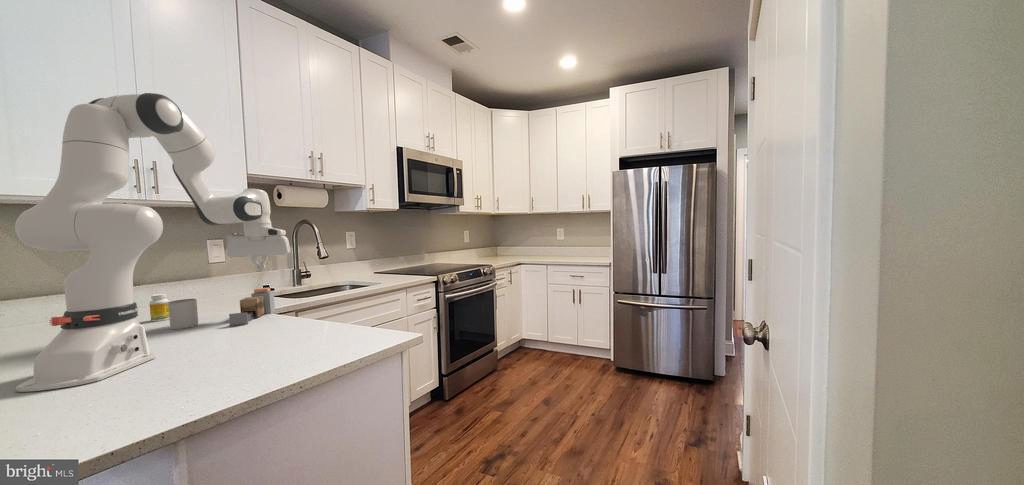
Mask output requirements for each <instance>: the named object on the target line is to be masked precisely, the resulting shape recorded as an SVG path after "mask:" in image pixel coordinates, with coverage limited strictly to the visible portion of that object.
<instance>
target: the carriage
mask: <svg viewBox="0 0 1024 485" xmlns="http://www.w3.org/2000/svg"><path fill="white" fill-rule="evenodd" d="M239 309H240V313H244V312H246V311H254V310H255V312H256V318H260V317H262V316H263V315H265V314H264V300H263V296H258V297H251V296H248V297H244V298H242V299H239ZM262 314H263V315H262Z"/></svg>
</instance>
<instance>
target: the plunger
mask: <svg viewBox="0 0 1024 485" xmlns="http://www.w3.org/2000/svg"><path fill="white" fill-rule="evenodd" d="M268 291H271V287H258V288H257V287H256V288H255V289H254V290H253V293H258V292H260V293H265V292H268Z"/></svg>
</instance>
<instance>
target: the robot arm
mask: <svg viewBox="0 0 1024 485" xmlns="http://www.w3.org/2000/svg"><path fill="white" fill-rule="evenodd" d="M64 124H65V125H64V129H63V132H62V133H63V134H62V140H61V141H62V143H61V157H60V165H59V172H58V176H57V179H56V180H55V183H54V185H53V187H52V188H51V189H50V191H49V192H48V193H47V194H46V196H45V197H44V198H43V199H42V200H40V201H39V202H38V203H37V204H35V205H34V206H32V207H31V208H29V209H26V210H24V211H23V212H21V213H20V215H19V216H18V217H17V219H16V221H15V225H14V231H15V234H16V236H17V238H18V239H19V241H21V243H22V244H24V245H25V246H27V247H29V248H32V249H36V250H42V251H52V252H53V251H54V252H73V251H74V252H77V251H79V252H80V251H90V253H89V257H88V258H87V259H88V260H87V261H86V262H85V264H84V265H82V266H80V267H78V268H76V269H74V270H73V271H71V272H70V273H68V274H67V275H66V276H65V278H64V281H63V289H64V298H65V299H64V300H65V306H66V310H65V311H64V313H63V316H52V317H50V319H49V325H50V326H51V327H57V326H60V329H61V330H60V331H59V333H57V335H56V336H55V337H54V338H53V339H52V340H51V341H50V342H49V343H48V344H47V345H46V346H45V348H43V349H42V350H41V351H40V352H39V354H37V356H36V357H35V359H34V361H33V377H32V378H30V379H28V380H25V381H24V382H22V383H20V384H17V386H15V392H20V393H23V392H24V393H25V392H40V391H47V390H55V389H56V390H57V389H62V388H69V387H70V388H71V387H75V386H79V385H86V384H90V383H94V382H98V381H102V380H104V379H106V378H109V377H112V376H114V375H117V374H119V373H122V372H123V371H126V370H129V369H131V368H134V367H136V366H139V365H142V364H144V363H146V362H149V361H151V360H153V359H156V354H155V353H153V352H150V348H149V344H148V339H147V334H146V329H145V327H144V326H143V325H142V324H141V323H140V322H139V321H138V319H137V317H138V316H139V311H138V310H139V308H138V305H137V302H135V299H134V297H135V296H134V272H135V267H136V265H137V262H138V260H139V258H140V257H141V256H142V254H143V253H144V252H145V251H146V250H147V249H148V247H151V246H152V245H153V244H155V243H156V242H157V241H158V240H159V239H160V238H161V236H162V234H163V230H164V221H163V220H162V217H161V216H160V214H159V213H158V212H157V211H156V210H155V209H153V208H152V207H150V206H146V205H140V204H139V205H137V204H134V203H133V204H132V203H131V204H130V203H104V202H105V200H106V199H107V198H108V196H110V195H111V194H113V193H114V192H117V191H119V190H121V189H123V188H124V187H125V186H126V185H127V184H128V182H129V176H130V175H129V168H130V142H129V139H133V138H139V139H140V138H142V139H144V138H151V137H154V138H155V139H156V140H157V141H158V143H159V144H160V146H161V147H162V148H163V150H164V151H165V152H166V153H167V155H168V156H169V157H170V159H171V161H172V165H171V166H172V171H173V173H174V175H175V177H176V179H177V180H178V182H179V183H180V185H181V186H182V188H183V190H184V191H185V192H186V194H187V196H188V197H189V198H190V200H191V202H192V204H193V205H194V207H195V210H196V212H197V215H198V216H199V218H200V219H201V221H202V222H204V223H205V224H206V225H209V226H220V225H226V224H238V223H241V224H242V223H243V232H231V233H230V234H228V235H227V236H226V243H227V248H226V250H227V251H226V256H228V258H248V257H250V259H251V261H252V263H253V264H254V268H255V269H266V264H267V261H268V260H269V257H270V256H283V255H285V256H286V255H289V254H290V253H291V246H290V241H289V238H288V237H287V236H286V234H287V231H286V230H285V229H281V228H278V227H273V225H272V220H271V203H270V198H269V195H268V193H267V192H266V191H265V190H263V189H261V188H251V187H249V188H244V189H243V191H242V192H240V193H238V194H235V195H230V196H217V195H214V194H213V193H212V192H211V191H210V190H209V188H208V185H207V184H206V183H205V180H204V179H203V178H202V176H201V173H202V172H203V171H205V170H206V169H208V168H209V167H210V166H211V165H212V164H213V162H214V160H215V157H216V152H215V148H214V147H213V145H212V143H211V142H210V141H209V139H208V138H207V136H205V134H204V133H203V132H202V130H201V129H200V128H199V127H198V125H197V124H196V123H195V122H194V121H193V120H192V119H191V118H190V117H189V116H188V115H187V114H186V113H185V112H184V111H182V110H181V108H180V107H179V106H178V105H177V103H176V102H174V101H173V100H172V99H171V98H170V97H168V96H166V95H165V94H160V93H154V92H144V93H141V94H140V93H138V94H137V93H134V94H118V95H112V96H108V97H103V98H102V97H100V98H97V99H93V100H91V101H90V102H88V103H81V104H78V105H75V106H73V107H72V108H71V109H70V110H69V113H68V115H67V118H66V121H65V123H64ZM259 257H261V258H262V259H263V260H262V262H261V263H259V262H258V258H259Z"/></svg>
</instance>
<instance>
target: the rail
mask: <svg viewBox="0 0 1024 485" xmlns="http://www.w3.org/2000/svg"><path fill="white" fill-rule="evenodd" d="M228 316H229V326H230V327H233V326H232V325H237V326H243V325H242V324H247V325H248V324H249V322H251V321H253V320H254V319H253V318H255V317H256V312H255V310H254V311H246V312H244V313H241V312H237V313H236V312H235V313H228ZM256 318H257V317H256ZM256 318H255V319H256ZM252 319H253V320H252ZM250 320H251V321H250ZM248 321H249V322H248Z"/></svg>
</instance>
